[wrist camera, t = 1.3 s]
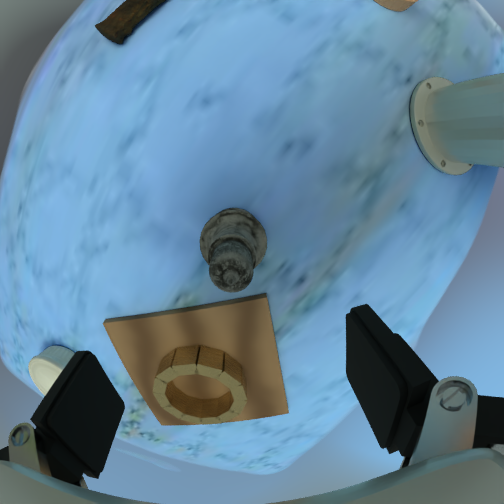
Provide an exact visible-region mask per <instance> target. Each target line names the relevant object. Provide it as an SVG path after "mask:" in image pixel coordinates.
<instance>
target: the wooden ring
mask: <svg viewBox="0 0 504 504" xmlns="http://www.w3.org/2000/svg"><path fill="white" fill-rule="evenodd" d="M192 374H199V375H203V376H207V377H211V378H215V379H217V380H218V381H220V382H221V383H222V384H224V385H225V386H227V387H228V388H229V389H230V391H229V392H227V393H226V394H224V395H222V396H220V397H219V398H212V399H200V398H196V397H192V396H188V395H187V394H185V393H184V392H182V391H181V390H179V389H178V388H177V387H176V386H175V384H174V383H173V381H172V380H173V379H175V378H176V377H178V376H181V375H192ZM153 394H154V396H155V398H156V399H157V401H158V403H159V404H160V406H161V407H163V409H164V410H166V411H167V412H169V413H170V414H172V415H174V416H175V417H177V418H178V419H179V418H181V419H180V420H184V421H188V422H192V423H196V424H201V423H202V425H204V424H218V423H222V422H223V423H224V422H226V421H228V420H230V419H232V418H234V417H236V416H238V415H239V414H241V412H242V410H243V408H244V406H245V405H246V403H247V381H246V377H245V374H244V371H243V367H242V366H241V364H240V363H239V362H238V361H236V360H235V359H234V358H233V357H231V356H230V355H229V354H228V353H226V352H224V351H223V350H219V349H215V348H211V347H208V346H204V345H201V347H200V346H199V345H191V346H183V347H177V348H175V349H174V350H172V351H171V352H170V353H168V354H167V355H166V356H164V357H163V358H162V359H161V362H160V365H159V367H158V370H157V373H156V376H155V380H154V386H153Z"/></svg>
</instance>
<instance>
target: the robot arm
mask: <svg viewBox="0 0 504 504" xmlns="http://www.w3.org/2000/svg"><path fill="white" fill-rule="evenodd" d="M410 117H411V123H412V128H413V131H414V135H415V138H416V140H417V143H418V145H419V147H420V149H421V151H422V152H423V154H424V156H425V157H426V158H427V160H428V161H429V162H430V163H431V164H432V165H433V166H434V167H435V168H436V169H438V170H439V171H441V172H443V173H446V174H450V175H461V174H464V173H466V172H467V171H469V170H470V169H471V168H472V166H473V165H474V164H477V165H487V166H495V167H503V168H504V73H500V74H495V75H490V76H485V77H481V78H476V79H472V80H468V81H464V82H460V83H456V84H454V83H452V82H450V81H449V80H447V79H444V78H441V77H431V78H428V79H425V80H423V81H421V82H420V83H419V84H418V85H417V86H416V88H415V90H414V92H413V95H412V98H411V104H410ZM346 374H347V378H348V380H349V382H350V384H351V387H352V389H353V391H354V393H355V395H356V397H357V399H358V401H359V403H360V405H361V407H362V409H363V411H364V413H365V415H366V418H367V420H368V421H369V424H370V425H371V428H372V430H373V432H374V434H375V436H376V439H377V441H378V443H379V445H380V447H381V448H383V449H384V448H387V450H388V452H389V454H391V453H393V452H396V451H398V450H399V452H400V454H401V456H404V459H403V461H402V464H401V467H400V469H399V470H397V471H394V472H391V473H388V474H386V475H383V476H380V477H377V478H374V479H371V480H368V481H365V482H362V483H360V484H356V485H353V486H350V487H346V488H343V489H339V490H336V491H332V492H328V493H324V494H319V495H314V496H310V497H305V498H300V499H295V500H290V501H283V502H276V503H269V504H504V398H502V397H491V396H481V395H478V394H477V389H476V388H475V386H474V384H473V383H472V382H471V381H469V380H467V379H465V378H463V377H457V376H455V377H454V376H452V377H447V378H444V379H442V380H441V381H438V380H437V378H436V377H435V376H434V375H433V373H432V372H431V371H430V370H429V369H428V367H427V366H426V365H425V364H424V363H423V361H422V360H421V359H420V358H419V357H418V356H417V354H416V353H415V352H414V351H413V350H412V349H411V347H410V346H409V345H408V344H407V343H406V342H405V341H404V339H403V338H402V337H401V336H400V335H399V334H397V333H393V332H392V331H391V330H390V329H389V328H388V326H387V325H386V324H385V323H384V322H383V321H382V320H381V318H380V317H379V316H378V315H377V314H376V313H375V312H374V311H373V309H372V308H371V307H370V306H369V305H368V304H364V305H361V306H357V307H354V308H351V310H350V313H348V314H346ZM124 409H125V405H124V402H123V400H122V399H121V397H120V396H119V394H118V393H117V391H116V389H115V388H114V386H113V385H112V383H111V382H110V380H109V378H108V377H107V375H106V373H105V372H104V370H103V368H102V366H101V365H100V363H99V361H98V359H97V358H96V356H95V355H94V354H92V353H91V352H90V351H77V352H76V353H75V354H74V355H73V356H72V358H71V359H70V361H69V362H68V363H67V365H66V366H65V368H64V369H63V370H62V372H61V373H60V375H59V376H58V378H57V379H56V380H55V382H54V383H53V385H52V386H51V388H50V389H49V391H48V392H47V394H46V395H45V397H44V398H43V400H42V402H41V403H40V405H39V406H38V408H37V409H36V411H35V413H34V414H33V416H32V418H31V419H30V420H31V421H32V422H33V423H34V424H35V425H36V429H34V428H33V427H32V426H31V424H29V423H20V424H18V425H17V426H15V427H14V428H13V430H12V431H11V432H10V435H9V440H8V443H9V446H7V447H5V448H3V449H1V450H0V504H157V503H149V502H142V501H137V500H131V499H126V498H121V497H116V496H112V495H107V494H103V493H100V492H96V491H92V490H89V489H88V487H87V485H86V483H85V480H84V478H83V476H82V475H83V473H84V474H86V475H87V476H89V477H93V478H97V479H98V478H99V475H100V473H101V472H102V471H103V469H104V466H105V463H106V460H107V457H108V454H109V451H110V448H111V445H112V442H113V440H114V437H115V434H116V431H117V428H118V426H119V423H120V420H121V417H122V415H123V412H124Z"/></svg>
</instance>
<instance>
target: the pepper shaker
mask: <svg viewBox="0 0 504 504" xmlns="http://www.w3.org/2000/svg"><path fill="white" fill-rule="evenodd" d="M374 1H375V2H377V3H378V4H380V5H381V6H383V7H385V8H387V9H390V10H393V11H404V10H406V9H407V8H409V7H410V6H411V5H413V4H414V3H415V2H417V1H418V0H374Z"/></svg>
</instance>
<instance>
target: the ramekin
mask: <svg viewBox="0 0 504 504" xmlns="http://www.w3.org/2000/svg"><path fill="white" fill-rule="evenodd" d="M74 354H75V353H74V352H73V351H71V350H69V349H67V348H65V347H62V346H50V347H48V348H47V349H45V350H44V351H43V352H41V353H40V354H39V355H37V356H35V357H33V358H32V359H31V361H30V362H29V366H28V367H29V373H30V375H31V378H32V380H33V381H34V383H35V385H36V386H37V387H38V389H39V390H40V391H41V392H42V393H43V394H44V395H46V394H47V392H48V391H49V389H50V388H51V386H52V385H53V383H54V382H55V380H56V379H57V378H58V376H59V375H60V373H61V372H62V370H63V369H64V368H65V366H66V365H67V363H68V362H69V361H70V359H71V358H72V356H73V355H74Z"/></svg>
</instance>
